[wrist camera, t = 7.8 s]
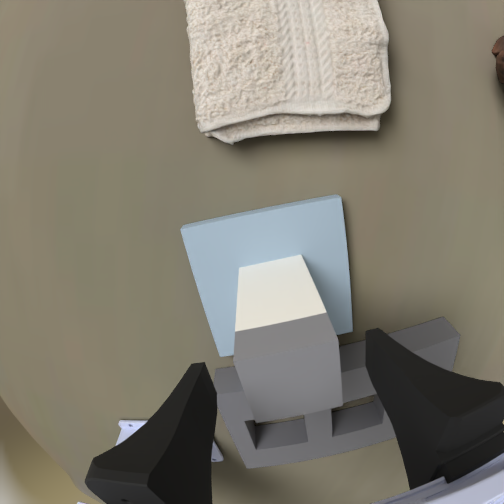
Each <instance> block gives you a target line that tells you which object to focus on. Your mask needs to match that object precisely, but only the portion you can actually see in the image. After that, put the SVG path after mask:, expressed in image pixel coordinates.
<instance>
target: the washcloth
mask: <svg viewBox="0 0 504 504" xmlns="http://www.w3.org/2000/svg"><path fill="white" fill-rule="evenodd" d="M184 2H185V4H186V7H185V8H186V10H187V12H186V14H188V16H187V19H186V20H187V22H188V27H187V33H188V38H189V42H190V60H191V61H190V62H191V66H192V70H191V74H192V79H193V85H194V88H193V91H192V93H193V95H194V105H195V108H196V109H195V113H196V121H197V123H198V128H199V130H200V132H201V133H205V135H206V136H207V137H212V136H214V137H216V138H218V139H219V140H221V141H223V142H225V143H229V144H232V145H233V144H234V142H238V141H241V140H243V139H245V138H252V137H258V136H266V135H277V134H292V133H306V132H308V133H309V132H318V131H365V130H373V131H378V129H379V128H380V119H381V118H380V116H381V113H384V112H385V111H386V110H388V108H389V105H390V102H391V84H390V78H389V69H388V51H387V48H388V42H389V34H388V30H387V28H386V25H385V23H384V21H383V17H382V13H381V10H380V7H379V4H378V1H377V0H184Z"/></svg>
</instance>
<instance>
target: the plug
mask: <svg viewBox="0 0 504 504" xmlns="http://www.w3.org/2000/svg"><path fill="white" fill-rule="evenodd" d="M233 362H234V365H235V368H236V370H237V373H238V376H239V379H240V381H241V384H242V387H243V390H244V392H245V395H246V398H247V400H248V403H249V406H250V408H251V411H252V414H253V416H254V419H255V421H256V423H259V422H266V421H272V420H278V419H284V418H289V417H294V416H300V415H304V414H309V413H314V412H318V411H323V410H327V409H331V408H335V407H339V406H343V399H342V382H341V367H340V354H339V343H338V338H337V336H336V333H335V331H334V328H333V326H332V324H331V321H330V319H329V317H328V314H327V312H326V309H325V307H324V305H323V303H322V300H321V298H320V296H319V293H318V291H317V289H316V286H315V284H314V282H313V280H312V277H311V275H310V273H309V271H308V268H307V266H306V264H305V262H304V259H303V257H302V255H296V256H292V257H287V258H283V259H278V260H273V261H269V262H264V263H260V264H255V265H250V266H246V267H241V268H239V276H238V292H237V307H236V323H235V340H234V357H233Z"/></svg>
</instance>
